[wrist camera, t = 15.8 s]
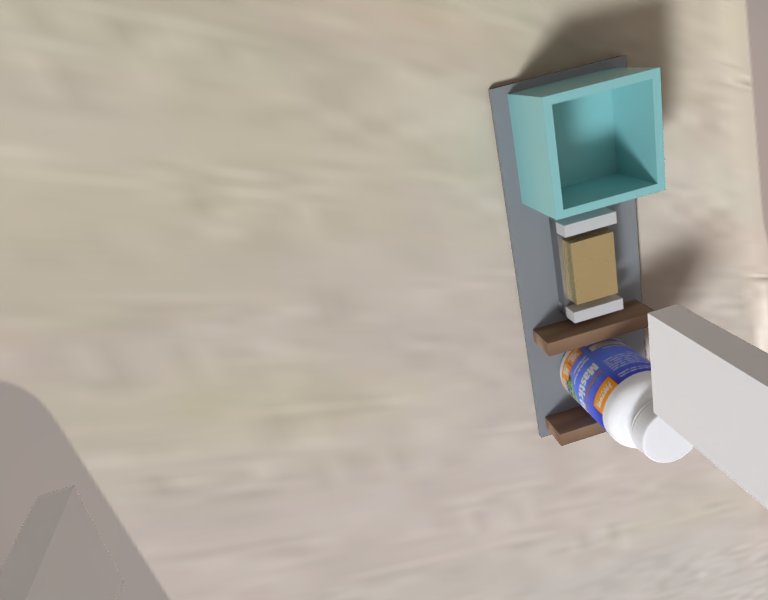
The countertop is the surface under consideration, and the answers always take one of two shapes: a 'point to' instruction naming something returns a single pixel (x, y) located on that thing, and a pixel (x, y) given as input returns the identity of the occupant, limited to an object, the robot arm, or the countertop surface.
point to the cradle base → (559, 232)
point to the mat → (537, 252)
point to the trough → (577, 335)
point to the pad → (590, 265)
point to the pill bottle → (621, 397)
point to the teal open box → (589, 140)
